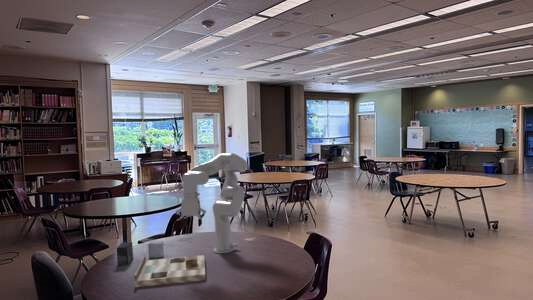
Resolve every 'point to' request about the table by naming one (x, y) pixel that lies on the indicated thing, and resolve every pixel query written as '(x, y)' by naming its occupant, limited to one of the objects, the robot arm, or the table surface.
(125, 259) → the small box
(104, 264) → the table surface
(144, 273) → the box
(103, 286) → the table surface
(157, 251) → the medicine box
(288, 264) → the table surface
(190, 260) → the walnut block
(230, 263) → the table surface
